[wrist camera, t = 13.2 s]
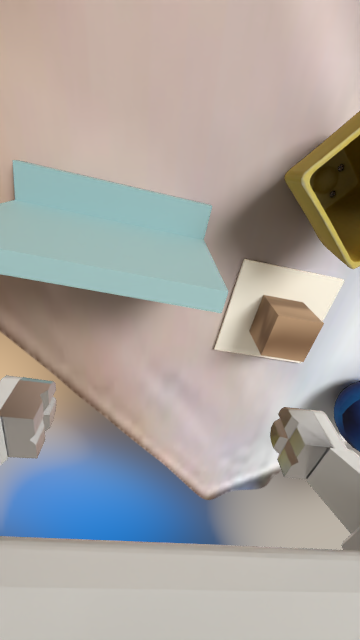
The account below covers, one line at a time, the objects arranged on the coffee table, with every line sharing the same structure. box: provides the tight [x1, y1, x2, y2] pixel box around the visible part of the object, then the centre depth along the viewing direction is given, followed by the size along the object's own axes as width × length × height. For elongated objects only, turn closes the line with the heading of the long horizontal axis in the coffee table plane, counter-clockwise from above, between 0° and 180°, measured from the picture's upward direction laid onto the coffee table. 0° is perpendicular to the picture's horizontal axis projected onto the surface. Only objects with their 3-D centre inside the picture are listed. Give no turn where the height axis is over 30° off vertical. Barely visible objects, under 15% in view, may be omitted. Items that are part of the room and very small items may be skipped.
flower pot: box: [285, 111, 360, 269], centre depth 23 cm, size 9×9×9 cm
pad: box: [214, 259, 344, 363], centre depth 34 cm, size 12×12×1 cm
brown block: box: [249, 295, 324, 362], centre depth 32 cm, size 5×5×5 cm
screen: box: [0, 160, 228, 313], centre depth 22 cm, size 5×18×14 cm, turn 78°
